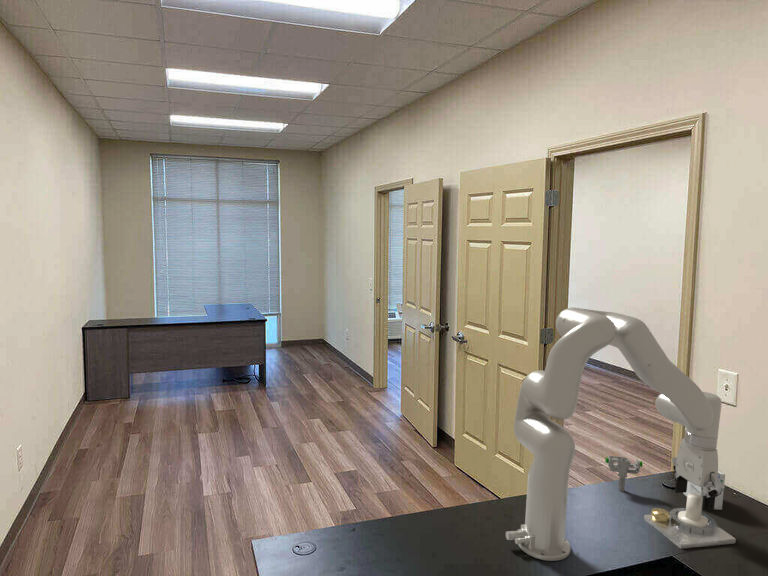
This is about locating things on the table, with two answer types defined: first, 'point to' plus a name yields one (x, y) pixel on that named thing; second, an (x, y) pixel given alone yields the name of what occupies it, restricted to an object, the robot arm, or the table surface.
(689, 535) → the carrier plate
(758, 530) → the table surface
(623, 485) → the mechanical component
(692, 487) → the light bulb box
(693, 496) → the white door knob
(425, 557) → the table surface
